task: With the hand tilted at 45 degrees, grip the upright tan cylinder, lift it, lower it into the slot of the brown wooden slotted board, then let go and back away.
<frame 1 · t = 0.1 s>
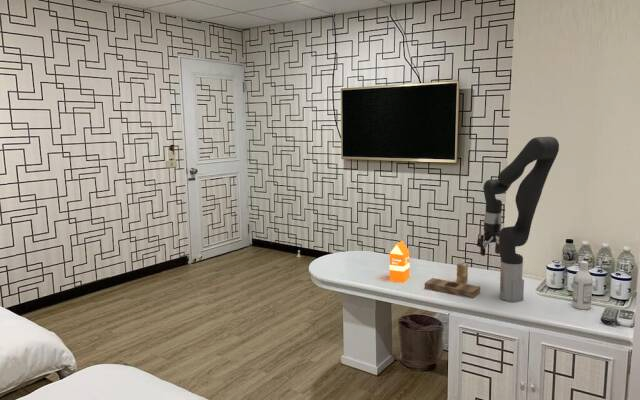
hand: (490, 254, 224), 17 cm above the table, tool pointing down, fingers open, 8 cm apart
brown wooden slotted board: (451, 290, 226), on the table
tan cylinder: (462, 283, 236), on the table
orange juice: (399, 279, 245), on the table
bath foam: (581, 307, 202), on the table
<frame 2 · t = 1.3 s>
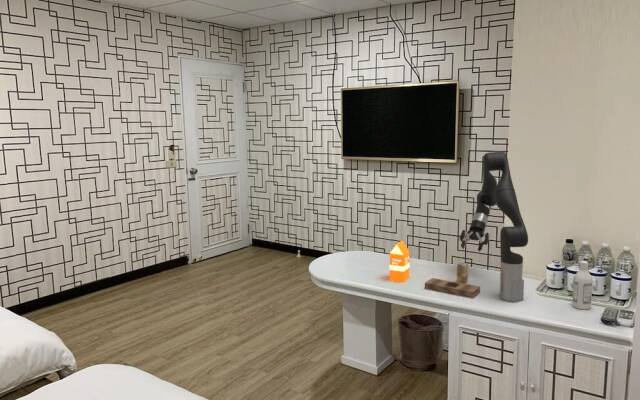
hand: (470, 249, 243), 15 cm above the table, tool tilted 45°, fingers open, 8 cm apart
nothing on the table moved.
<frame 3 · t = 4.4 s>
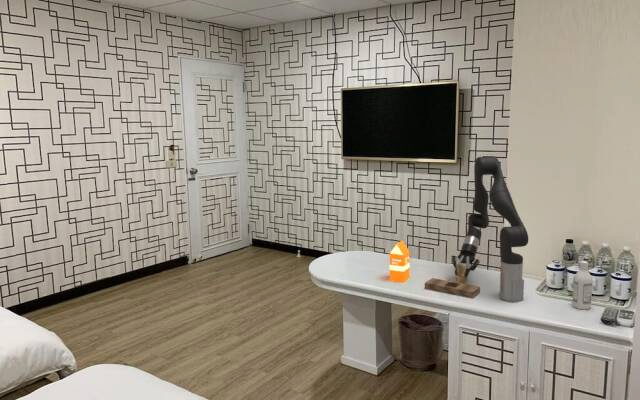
hand: (460, 275, 234), 5 cm above the table, tool tilted 45°, fingers closed on tan cylinder, 4 cm apart
tan cylinder: (462, 283, 236), on the table, touching gripper
everything else where it was.
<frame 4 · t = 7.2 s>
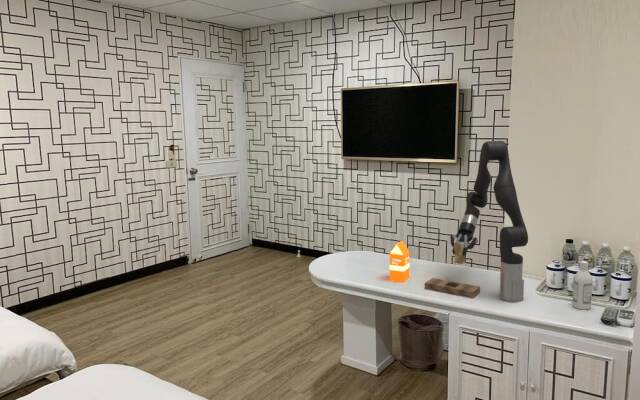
hand: (458, 254, 230), 16 cm above the table, tool tilted 45°, fingers closed on tan cylinder, 4 cm apart
tan cylinder: (459, 262, 232), point 12 cm above the table, touching gripper
everything else where it was.
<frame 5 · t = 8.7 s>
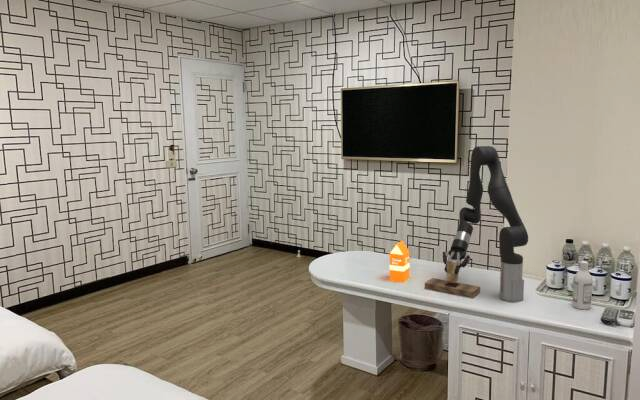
hand: (450, 272, 224), 9 cm above the table, tool tilted 45°, fingers closed on tan cylinder, 4 cm apart
tan cylinder: (452, 280, 226), point 5 cm above the table, touching gripper
everything else where it was.
when the fingers open (6 cm above the table, at t = 10.1 s): tan cylinder stays where it is, resting in brown wooden slotted board.
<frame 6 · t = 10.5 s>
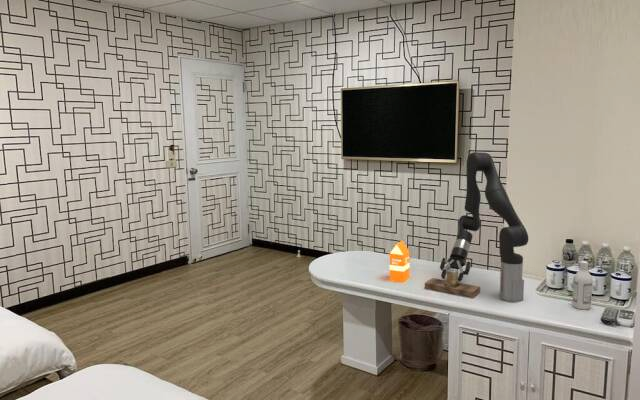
hand: (450, 279, 224), 6 cm above the table, tool tilted 45°, fingers open, 7 cm apart
tan cylinder: (451, 290, 226), resting in brown wooden slotted board
everything else where it was.
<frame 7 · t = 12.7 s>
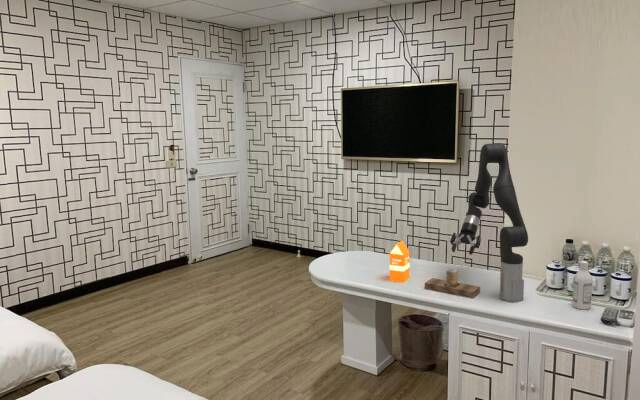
hand: (461, 252, 233), 16 cm above the table, tool tilted 45°, fingers open, 8 cm apart
nothing on the table moved.
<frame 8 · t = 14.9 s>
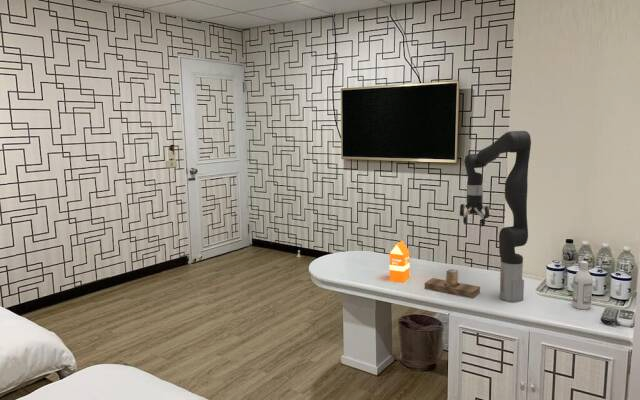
hand: (474, 225, 239), 28 cm above the table, tool pointing down, fingers open, 8 cm apart
nothing on the table moved.
at the end: tan cylinder 0.0 cm off-centre on the brown wooden slotted board, point 0.0 cm above the brown wooden slotted board's base; tan cylinder tilted 0°; the gripper is holding nothing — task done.
